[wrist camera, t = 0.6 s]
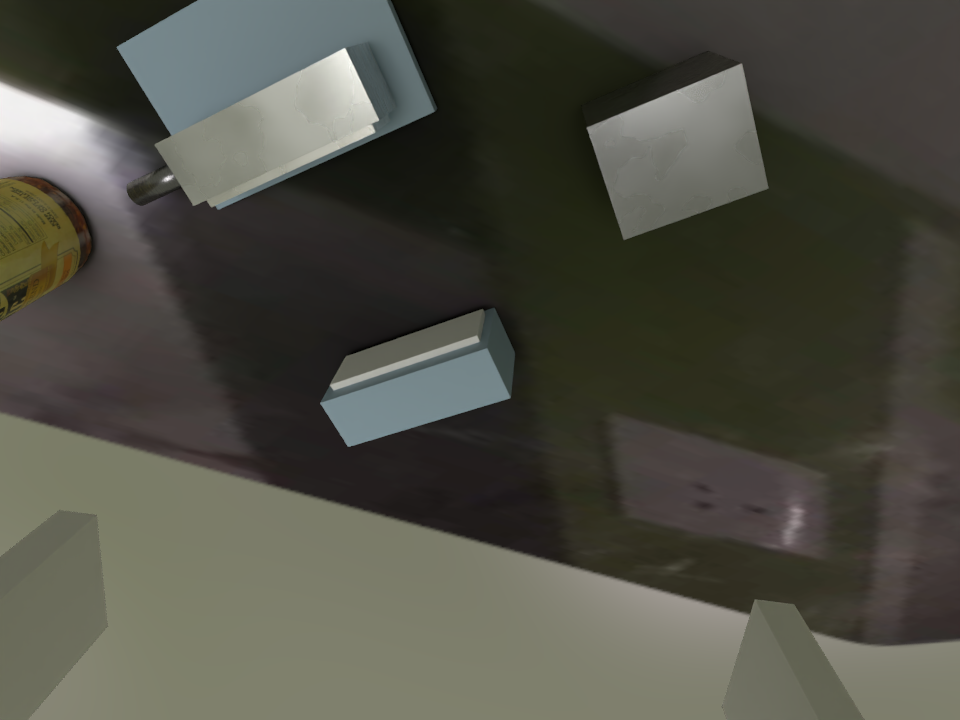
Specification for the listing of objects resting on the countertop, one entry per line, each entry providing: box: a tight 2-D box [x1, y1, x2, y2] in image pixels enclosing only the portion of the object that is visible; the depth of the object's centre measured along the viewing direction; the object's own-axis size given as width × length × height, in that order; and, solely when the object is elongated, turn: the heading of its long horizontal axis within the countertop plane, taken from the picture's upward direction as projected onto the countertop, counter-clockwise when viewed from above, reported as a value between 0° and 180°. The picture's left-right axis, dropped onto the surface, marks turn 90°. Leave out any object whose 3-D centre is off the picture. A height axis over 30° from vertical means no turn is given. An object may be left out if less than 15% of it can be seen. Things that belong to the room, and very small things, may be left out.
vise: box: [117, 0, 515, 447], centre depth 32 cm, size 13×23×5 cm, turn 23°
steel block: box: [581, 51, 768, 240], centre depth 28 cm, size 6×5×6 cm
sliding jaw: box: [127, 42, 397, 207], centre depth 30 cm, size 14×3×4 cm, turn 113°
